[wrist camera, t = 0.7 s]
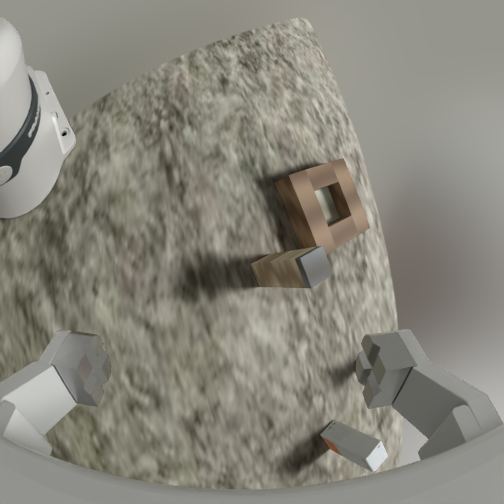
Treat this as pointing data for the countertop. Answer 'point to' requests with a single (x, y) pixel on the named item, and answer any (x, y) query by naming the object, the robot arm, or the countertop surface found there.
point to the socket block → (323, 206)
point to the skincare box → (354, 445)
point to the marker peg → (293, 268)
